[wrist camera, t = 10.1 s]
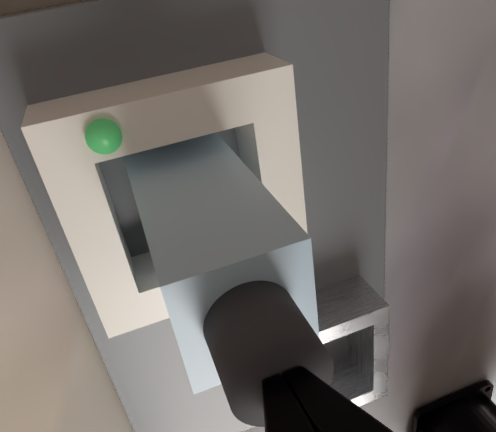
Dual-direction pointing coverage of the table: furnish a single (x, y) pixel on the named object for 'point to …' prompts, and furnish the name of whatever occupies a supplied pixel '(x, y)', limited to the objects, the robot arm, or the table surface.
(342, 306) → the hollow square tube
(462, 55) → the table surface
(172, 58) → the panel board
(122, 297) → the port block
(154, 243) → the plug
